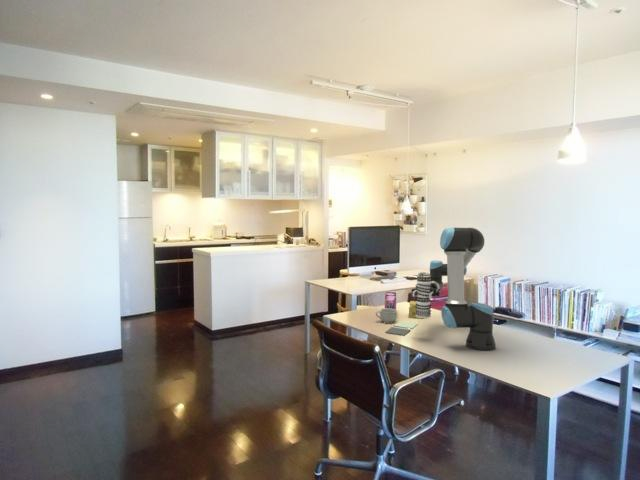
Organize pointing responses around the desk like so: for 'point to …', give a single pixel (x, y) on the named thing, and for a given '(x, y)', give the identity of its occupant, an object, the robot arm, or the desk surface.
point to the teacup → (387, 315)
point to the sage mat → (405, 324)
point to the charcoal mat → (397, 331)
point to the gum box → (390, 300)
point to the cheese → (413, 310)
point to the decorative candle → (423, 295)
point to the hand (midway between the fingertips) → (421, 295)
